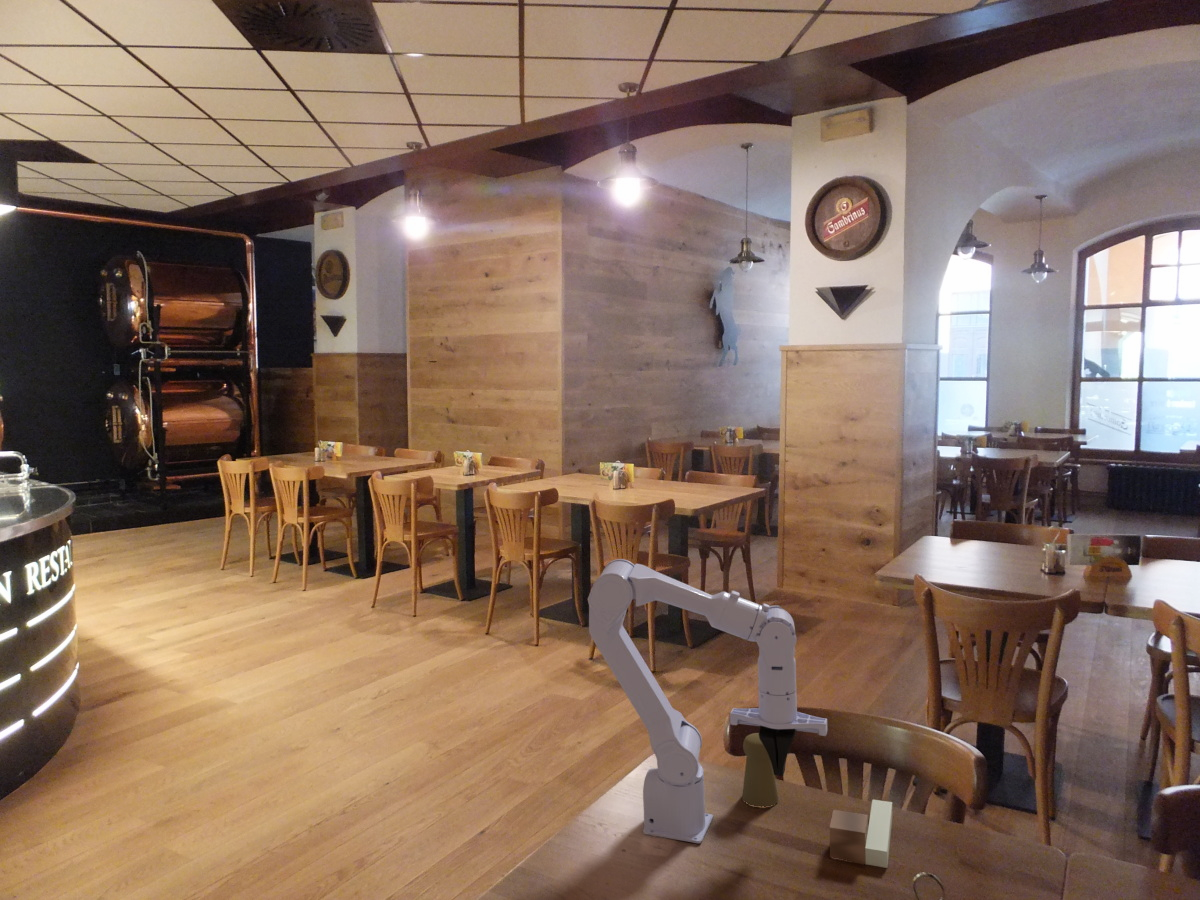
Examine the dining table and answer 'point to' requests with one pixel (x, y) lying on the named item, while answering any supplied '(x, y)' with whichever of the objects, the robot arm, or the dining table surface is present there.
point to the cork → (758, 774)
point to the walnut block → (848, 836)
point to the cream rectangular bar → (879, 834)
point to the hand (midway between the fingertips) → (779, 772)
